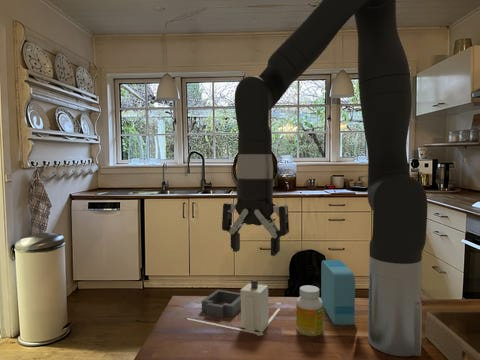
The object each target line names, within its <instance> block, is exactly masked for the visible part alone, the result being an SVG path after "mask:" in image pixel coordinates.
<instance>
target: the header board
mask: <svg viewBox="0 0 480 360" xmlns="http://www.w3.org/2000/svg"><path fill="white" fill-rule="evenodd" d="M280 310H281V308H279V307H278V308H277V309H276V311H274V312H273V314H272V315H271V316H270V317H269V322H268V324H267V325H266V326H265V327H264V329H263V330H262V331H254V332H250V331H245V328H238V327H233V326H229V325H224V324H219V323H214V322H210V321H209V322H208V321H205V320H200V319H194V318H189V317H187V318H186V320H188V321H193V322H197V323H202V324H207V325H212V326H217V327H221V328H227V329H232V330H236V331H240V332H246V333H251V334H255V335H256V336H259V337H260V336H263V335H264V333H263V332H264V331H265V330H266V328H267V327H268V326H269V325H270V323H271V322H272V320H274V319H275V317H276V315H277V314H278V313H279V311H280Z"/></svg>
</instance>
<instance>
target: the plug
mask: <svg viewBox="0 0 480 360" xmlns="http://www.w3.org/2000/svg"><path fill="white" fill-rule="evenodd" d="M258 281H259V280H257V279H251V280H250V282H248V283H246V285H244V286H243V287H242V288H241V289H240V293H241V310H240V318H241V319H240V320H241V321H240V325H241V328H240V329H244V330H245V331H250V332H256V331H257V332H260V331H262V330H263V329H264V327H265V326H266V325H267V324H268V322H269V319H270V317H269V315H270V314H269V312H270V311H269V286H268V285H267V284H259V282H258ZM268 325H269V324H268ZM245 331H244V332H245ZM250 332H249V333H250Z"/></svg>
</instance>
